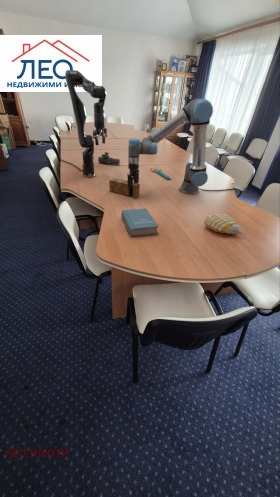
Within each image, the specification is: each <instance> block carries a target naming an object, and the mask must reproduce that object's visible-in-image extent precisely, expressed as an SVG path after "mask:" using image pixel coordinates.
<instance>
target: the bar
mask: <svg viewBox="0 0 280 497" xmlns="http://www.w3.org/2000/svg"><path fill="white" fill-rule="evenodd" d="M108 182H109V184H108V185H109V191H110V192H113V193H116V194H117V193H118V194H121V195H125V196H129V187H127V180H126V179H125V180H124V179H121V178H116V177H112V178H110V179H109V181H108ZM132 188H133V196H132V197H133V198H137V197H138V196H140V191H141V190H140V188H141V184H140V183H134V181H133V185H132Z"/></svg>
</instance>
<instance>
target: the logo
mask: <svg viewBox="0 0 280 497" xmlns="http://www.w3.org/2000/svg"><path fill="white" fill-rule="evenodd" d="M150 170H151V171H152V172H154V173H157V174H158V175H160V176H161V177H163V178H164V179H166V180H172V178H171V177H170V176H169V175H166V174H164V172H162V171H161V168H158V167H150Z"/></svg>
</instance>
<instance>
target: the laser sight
mask: <svg viewBox="0 0 280 497" xmlns="http://www.w3.org/2000/svg"><path fill="white" fill-rule="evenodd" d="M97 161H98V163H99V164H103V165H104V164H105V165H110V166H112V165H116V166H119V165H120V163H121V159H119V158H113V157H110V155H109V152H107V151H105V152H104V153H101V156H98V159H97Z"/></svg>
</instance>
